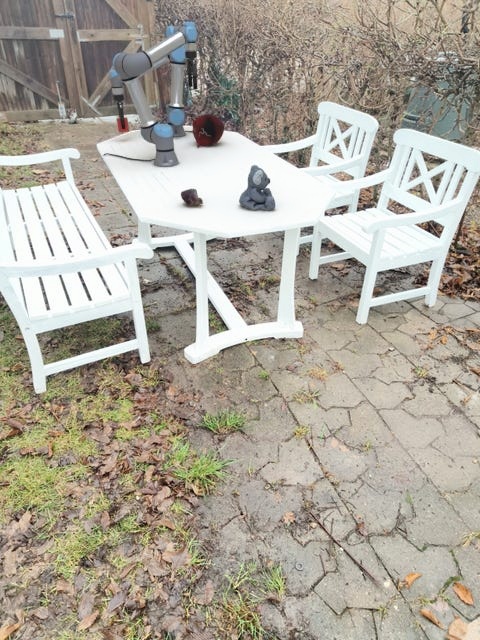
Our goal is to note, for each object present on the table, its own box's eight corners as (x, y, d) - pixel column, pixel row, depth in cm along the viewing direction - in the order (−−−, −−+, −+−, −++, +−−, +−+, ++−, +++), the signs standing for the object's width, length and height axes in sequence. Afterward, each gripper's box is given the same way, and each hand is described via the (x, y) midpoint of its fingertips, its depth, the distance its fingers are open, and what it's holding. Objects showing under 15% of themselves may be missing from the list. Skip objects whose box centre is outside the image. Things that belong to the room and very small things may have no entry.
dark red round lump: (190, 120, 341) (188, 116, 317) (221, 113, 340) (220, 109, 316) (197, 149, 348) (195, 148, 324) (227, 142, 347) (227, 141, 323)
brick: (129, 131, 340) (127, 118, 335) (119, 132, 338) (117, 119, 333) (128, 130, 344) (126, 117, 338) (118, 131, 342) (116, 118, 336)
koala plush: (276, 211, 223) (277, 171, 212) (240, 212, 222) (240, 172, 211) (271, 199, 237) (272, 161, 226) (237, 200, 236) (237, 162, 225)
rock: (196, 202, 238) (178, 205, 233) (194, 185, 234) (176, 188, 230) (205, 205, 228) (187, 208, 224) (203, 188, 224) (185, 191, 220)
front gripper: (201, 51, 277) (203, 90, 289) (191, 49, 296) (193, 85, 308) (189, 52, 275) (191, 90, 287) (180, 49, 294) (183, 85, 306)
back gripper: (125, 95, 320) (129, 130, 334) (121, 92, 334) (126, 125, 348) (114, 96, 318) (119, 131, 332) (111, 92, 332) (116, 126, 346)
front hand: (192, 88), depth 298 cm, fingers open, 13 cm apart
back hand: (123, 128), depth 340 cm, fingers closed on brick, 5 cm apart
